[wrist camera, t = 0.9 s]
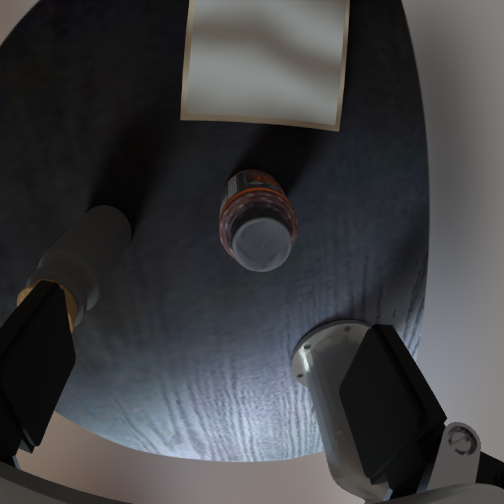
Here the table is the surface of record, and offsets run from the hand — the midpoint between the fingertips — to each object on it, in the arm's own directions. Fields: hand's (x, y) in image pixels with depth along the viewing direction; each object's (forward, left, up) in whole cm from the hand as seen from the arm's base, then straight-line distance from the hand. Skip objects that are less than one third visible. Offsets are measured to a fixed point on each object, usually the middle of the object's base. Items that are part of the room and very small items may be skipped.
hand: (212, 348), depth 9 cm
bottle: (-6, +12, -24) cm, 27 cm away
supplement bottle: (-2, -3, -24) cm, 24 cm away
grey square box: (+12, -3, -23) cm, 26 cm away
